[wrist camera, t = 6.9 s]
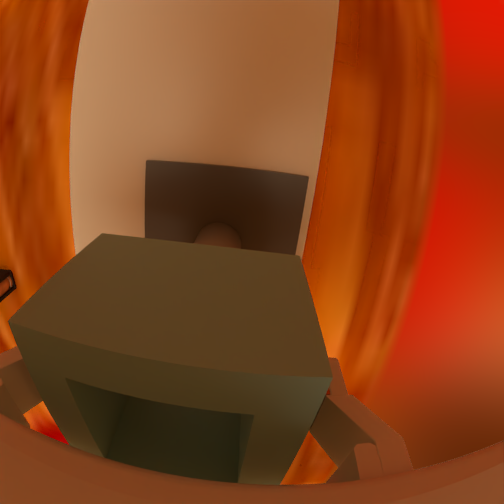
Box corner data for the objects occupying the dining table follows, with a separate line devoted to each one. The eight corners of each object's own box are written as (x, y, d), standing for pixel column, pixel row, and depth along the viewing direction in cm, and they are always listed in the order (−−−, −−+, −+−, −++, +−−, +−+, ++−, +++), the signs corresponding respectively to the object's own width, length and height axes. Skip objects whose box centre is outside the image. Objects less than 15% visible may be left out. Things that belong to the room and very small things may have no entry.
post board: (104, -15, 12) (45, -54, 5) (335, -12, 13) (373, -69, 6) (93, 302, 22) (48, 364, 15) (282, 329, 22) (289, 408, 15)
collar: (102, 233, 9) (7, 320, 5) (299, 255, 9) (332, 377, 5) (122, 371, 12) (83, 464, 7) (268, 392, 12) (271, 498, 7)
